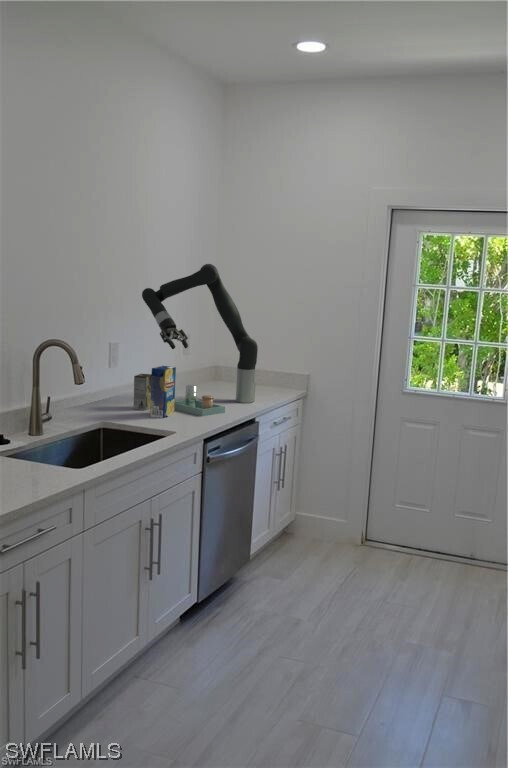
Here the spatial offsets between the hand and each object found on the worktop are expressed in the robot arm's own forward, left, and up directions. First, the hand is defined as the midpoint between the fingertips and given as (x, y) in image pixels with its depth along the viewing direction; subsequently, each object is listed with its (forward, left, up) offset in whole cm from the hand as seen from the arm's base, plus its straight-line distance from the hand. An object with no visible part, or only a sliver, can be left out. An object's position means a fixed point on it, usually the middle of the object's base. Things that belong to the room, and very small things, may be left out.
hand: (180, 347), depth 364 cm
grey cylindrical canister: (+4, +13, -28) cm, 31 cm away
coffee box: (+20, -3, -29) cm, 35 cm away
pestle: (+5, +24, -28) cm, 37 cm away
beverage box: (+23, +14, -29) cm, 39 cm away
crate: (+5, +18, -28) cm, 34 cm away
